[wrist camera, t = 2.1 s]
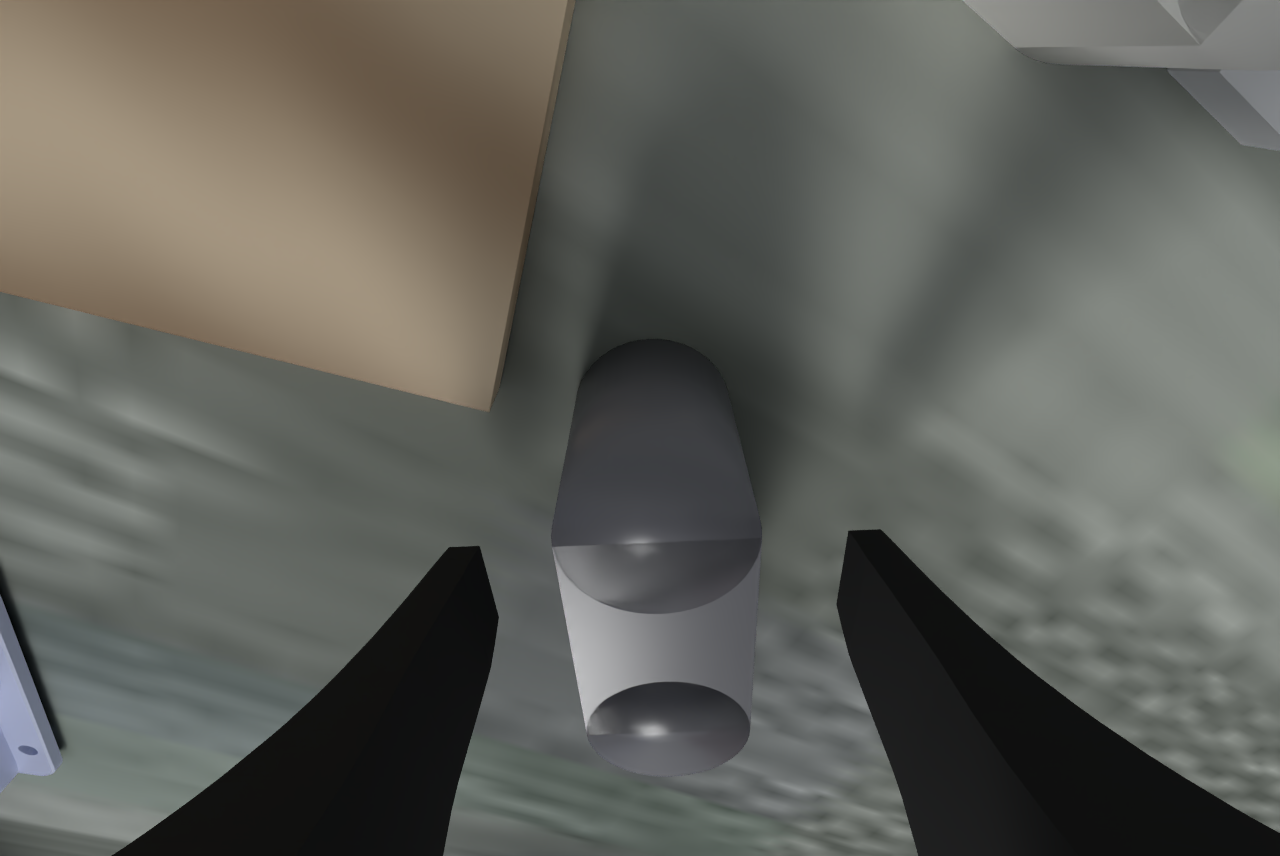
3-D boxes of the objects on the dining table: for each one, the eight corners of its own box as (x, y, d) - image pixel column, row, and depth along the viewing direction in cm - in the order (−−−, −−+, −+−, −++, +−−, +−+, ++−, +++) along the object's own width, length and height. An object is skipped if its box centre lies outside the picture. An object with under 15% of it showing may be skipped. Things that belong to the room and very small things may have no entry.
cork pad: (499, 387, 12) (488, 412, 11) (-58, 245, 11) (-117, 262, 10) (639, -325, 7) (639, -376, 6) (-381, -782, 6) (-560, -928, 5)
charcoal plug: (566, 343, 12) (536, 461, 8) (730, 334, 12) (767, 450, 8) (612, 677, 17) (604, 830, 14) (723, 673, 17) (744, 826, 14)
